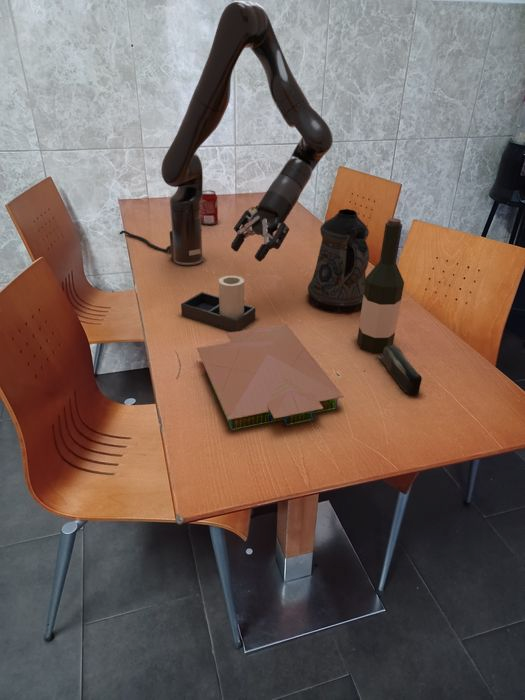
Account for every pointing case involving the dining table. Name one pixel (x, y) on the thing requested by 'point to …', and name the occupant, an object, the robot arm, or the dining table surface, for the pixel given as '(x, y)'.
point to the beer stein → (341, 264)
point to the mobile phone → (401, 370)
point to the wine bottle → (382, 295)
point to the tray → (215, 313)
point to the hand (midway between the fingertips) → (245, 254)
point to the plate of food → (253, 210)
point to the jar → (231, 296)
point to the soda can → (209, 208)
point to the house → (266, 375)
